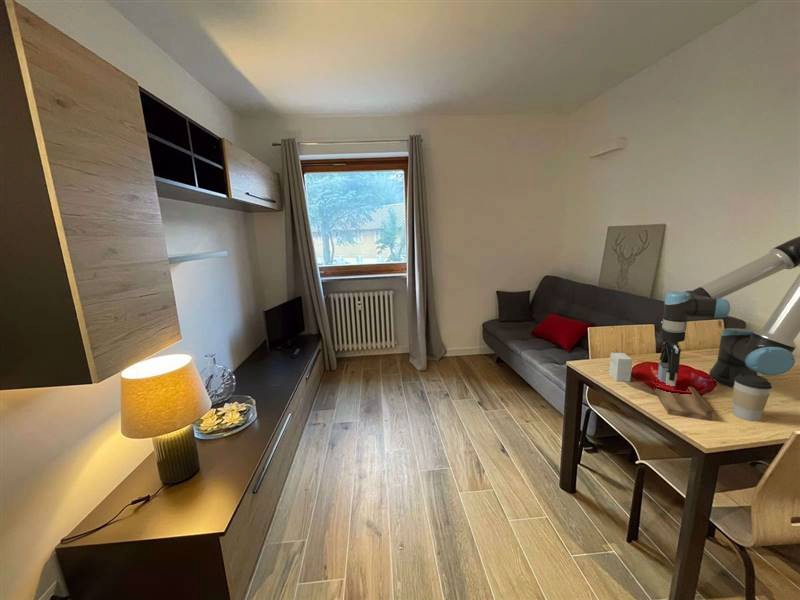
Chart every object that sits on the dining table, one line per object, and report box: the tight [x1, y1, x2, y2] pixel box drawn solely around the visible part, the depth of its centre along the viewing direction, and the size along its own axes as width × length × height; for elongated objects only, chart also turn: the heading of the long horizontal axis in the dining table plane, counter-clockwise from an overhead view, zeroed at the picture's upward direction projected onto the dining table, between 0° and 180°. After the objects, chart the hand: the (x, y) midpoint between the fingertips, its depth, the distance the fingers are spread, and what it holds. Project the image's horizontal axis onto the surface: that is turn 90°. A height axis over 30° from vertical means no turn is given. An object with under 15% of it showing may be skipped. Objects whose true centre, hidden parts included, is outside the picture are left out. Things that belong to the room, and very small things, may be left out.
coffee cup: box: [732, 373, 773, 422], centre depth 115 cm, size 9×9×15 cm
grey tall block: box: [656, 361, 678, 386], centre depth 138 cm, size 6×5×10 cm
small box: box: [608, 352, 633, 382], centre depth 147 cm, size 8×6×10 cm
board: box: [654, 386, 714, 422], centre depth 124 cm, size 12×19×4 cm, turn 155°
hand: (666, 382), depth 138 cm, fingers open, 8 cm apart
